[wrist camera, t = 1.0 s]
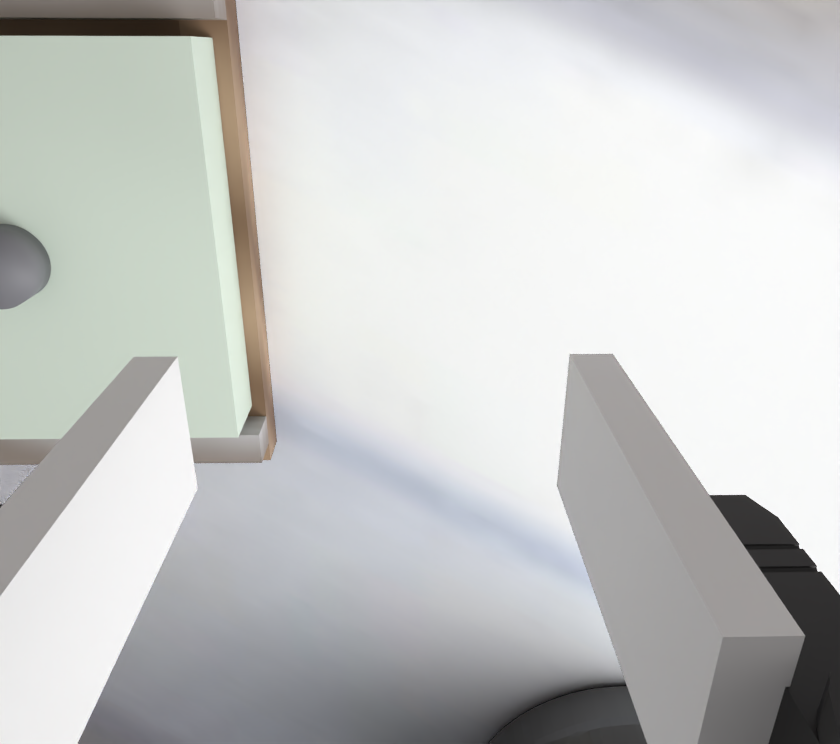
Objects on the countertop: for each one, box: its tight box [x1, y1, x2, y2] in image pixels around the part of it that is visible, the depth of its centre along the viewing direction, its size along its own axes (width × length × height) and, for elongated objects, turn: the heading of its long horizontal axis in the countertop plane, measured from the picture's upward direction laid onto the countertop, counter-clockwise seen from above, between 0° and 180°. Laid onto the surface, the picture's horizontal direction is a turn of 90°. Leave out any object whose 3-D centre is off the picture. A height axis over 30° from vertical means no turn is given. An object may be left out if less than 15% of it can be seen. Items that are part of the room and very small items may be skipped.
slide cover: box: [0, 36, 252, 439], centre depth 23 cm, size 13×13×4 cm
